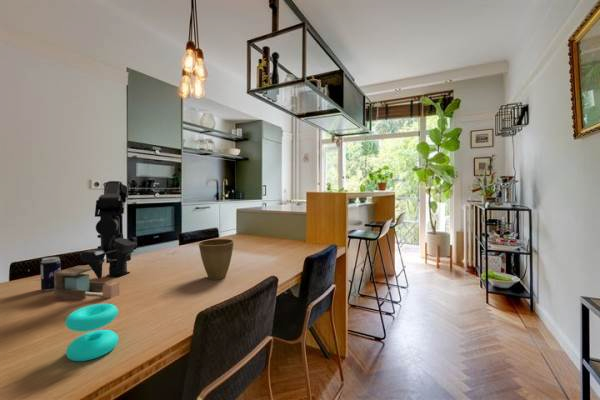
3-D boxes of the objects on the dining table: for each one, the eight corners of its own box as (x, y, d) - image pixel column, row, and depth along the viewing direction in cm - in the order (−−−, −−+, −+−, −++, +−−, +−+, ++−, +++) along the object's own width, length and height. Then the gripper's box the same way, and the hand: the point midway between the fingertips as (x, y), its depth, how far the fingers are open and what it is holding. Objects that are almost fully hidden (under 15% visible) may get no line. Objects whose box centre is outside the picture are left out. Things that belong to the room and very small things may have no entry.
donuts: (100, 299, 72) (127, 305, 68) (101, 336, 72) (127, 344, 68) (55, 315, 62) (82, 323, 59) (56, 357, 63) (83, 368, 59)
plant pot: (221, 270, 132) (221, 237, 131) (240, 276, 122) (240, 241, 122) (192, 277, 120) (192, 241, 120) (211, 285, 111) (211, 246, 110)
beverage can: (49, 292, 102) (48, 260, 101) (37, 291, 103) (36, 259, 102) (64, 287, 107) (64, 256, 107) (53, 285, 108) (52, 256, 108)
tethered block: (78, 290, 104) (77, 273, 103) (121, 293, 101) (120, 276, 101) (65, 295, 99) (64, 277, 99) (109, 299, 96) (109, 280, 96)
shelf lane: (78, 288, 106) (78, 265, 106) (105, 290, 104) (105, 267, 104) (54, 297, 97) (54, 272, 97) (83, 299, 95) (83, 274, 95)
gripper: (107, 236, 87) (108, 284, 88) (148, 228, 106) (148, 268, 106) (78, 235, 89) (79, 282, 90) (123, 227, 108) (123, 266, 108)
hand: (110, 274), depth 98 cm, fingers open, 9 cm apart
